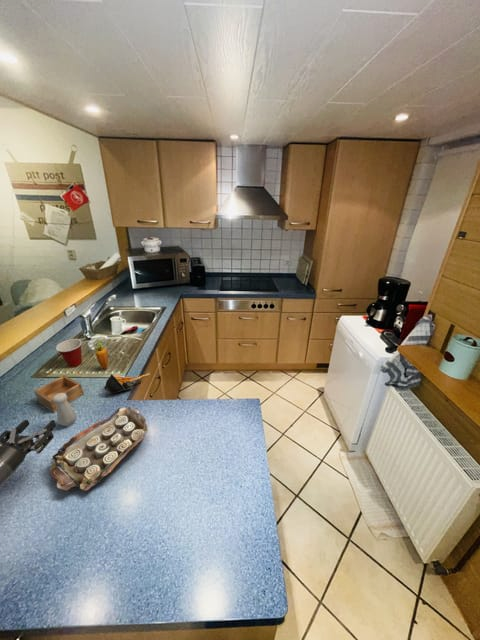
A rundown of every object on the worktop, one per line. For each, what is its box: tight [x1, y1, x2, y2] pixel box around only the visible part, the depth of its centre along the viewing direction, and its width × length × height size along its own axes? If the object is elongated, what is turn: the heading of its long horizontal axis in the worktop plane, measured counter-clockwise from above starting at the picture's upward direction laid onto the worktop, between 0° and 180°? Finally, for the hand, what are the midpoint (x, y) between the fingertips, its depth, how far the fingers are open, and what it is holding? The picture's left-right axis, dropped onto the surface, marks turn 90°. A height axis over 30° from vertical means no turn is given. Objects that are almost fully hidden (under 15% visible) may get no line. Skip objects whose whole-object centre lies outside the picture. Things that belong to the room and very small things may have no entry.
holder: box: [33, 375, 85, 413], centre depth 105 cm, size 12×12×6 cm
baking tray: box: [49, 406, 149, 492], centre depth 83 cm, size 30×22×5 cm
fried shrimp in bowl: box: [104, 372, 151, 395], centre depth 111 cm, size 9×11×18 cm
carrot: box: [93, 341, 109, 370], centre depth 121 cm, size 5×5×15 cm
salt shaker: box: [52, 393, 77, 427], centre depth 92 cm, size 6×6×13 cm
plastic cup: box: [55, 338, 83, 368], centre depth 125 cm, size 11×11×12 cm
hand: (40, 421), depth 81 cm, fingers open, 8 cm apart
